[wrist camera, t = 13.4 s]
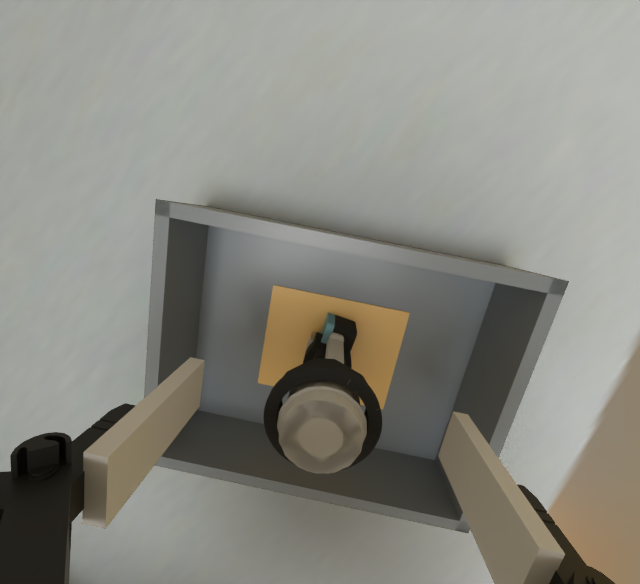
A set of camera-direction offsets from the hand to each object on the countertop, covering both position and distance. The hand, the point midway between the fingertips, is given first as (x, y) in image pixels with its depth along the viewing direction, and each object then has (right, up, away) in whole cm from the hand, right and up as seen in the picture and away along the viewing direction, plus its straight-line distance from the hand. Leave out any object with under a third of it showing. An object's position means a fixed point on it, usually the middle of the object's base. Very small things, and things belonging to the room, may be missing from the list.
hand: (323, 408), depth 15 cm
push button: (0, +2, +7) cm, 7 cm away
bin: (+1, +2, +8) cm, 8 cm away
